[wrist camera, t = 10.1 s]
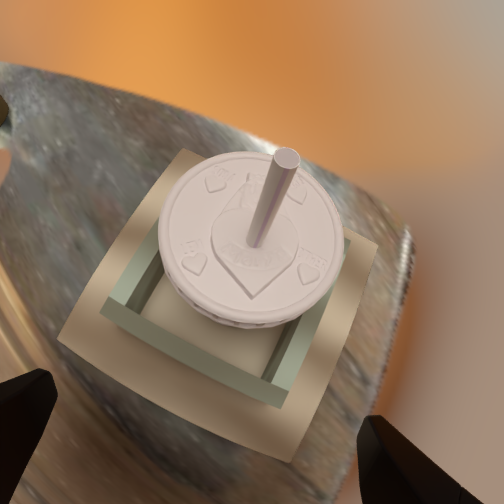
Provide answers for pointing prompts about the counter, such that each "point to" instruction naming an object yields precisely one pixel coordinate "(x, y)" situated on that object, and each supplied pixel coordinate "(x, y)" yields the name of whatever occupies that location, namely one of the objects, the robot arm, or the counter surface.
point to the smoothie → (250, 238)
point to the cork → (3, 110)
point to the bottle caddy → (211, 338)
